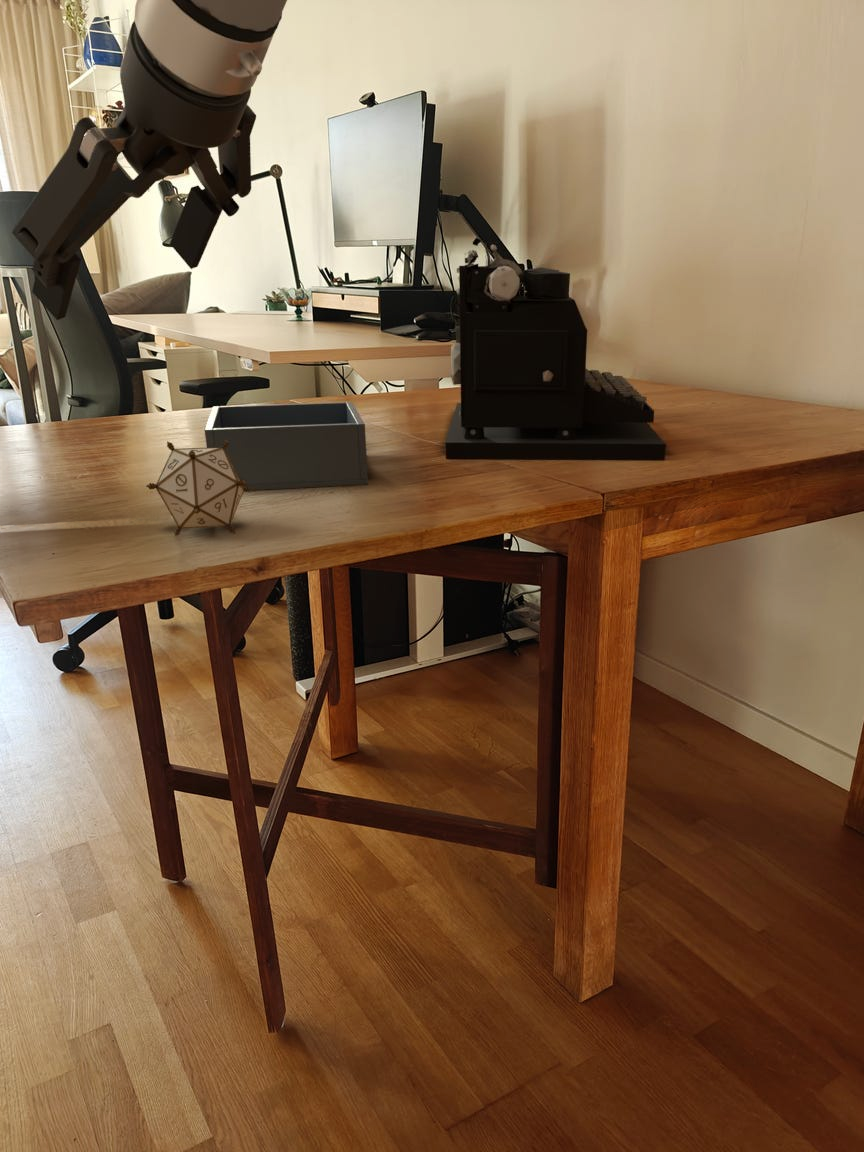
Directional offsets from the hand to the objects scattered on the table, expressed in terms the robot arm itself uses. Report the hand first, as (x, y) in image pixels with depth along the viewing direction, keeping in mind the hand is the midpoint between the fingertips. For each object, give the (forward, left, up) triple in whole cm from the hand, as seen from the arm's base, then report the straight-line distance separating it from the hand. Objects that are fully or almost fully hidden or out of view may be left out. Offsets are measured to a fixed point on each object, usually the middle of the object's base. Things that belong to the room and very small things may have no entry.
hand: (120, 278), depth 70 cm
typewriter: (+48, +37, -22) cm, 64 cm away
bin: (+12, +22, -21) cm, 33 cm away
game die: (+4, 0, -22) cm, 22 cm away
